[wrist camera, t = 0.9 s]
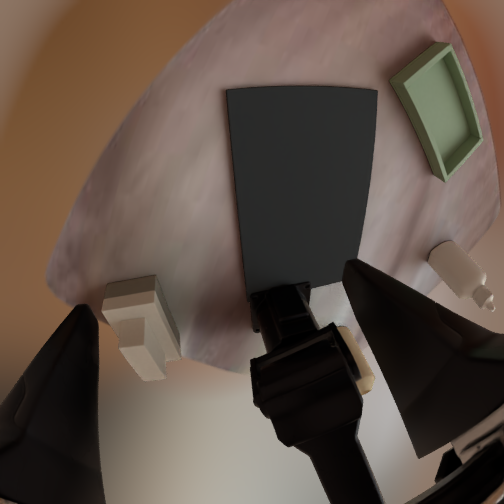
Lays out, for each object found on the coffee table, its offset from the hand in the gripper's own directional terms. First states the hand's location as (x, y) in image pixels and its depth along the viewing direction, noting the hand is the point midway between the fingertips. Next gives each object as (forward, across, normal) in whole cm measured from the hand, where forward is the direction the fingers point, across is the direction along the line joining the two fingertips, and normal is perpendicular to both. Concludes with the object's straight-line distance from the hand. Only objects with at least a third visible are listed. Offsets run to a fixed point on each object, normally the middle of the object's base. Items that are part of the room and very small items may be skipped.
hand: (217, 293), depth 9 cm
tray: (+13, -23, -5) cm, 27 cm away
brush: (+13, +8, +14) cm, 21 cm away
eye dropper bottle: (+14, -30, +14) cm, 36 cm away
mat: (+13, -9, +4) cm, 16 cm away
